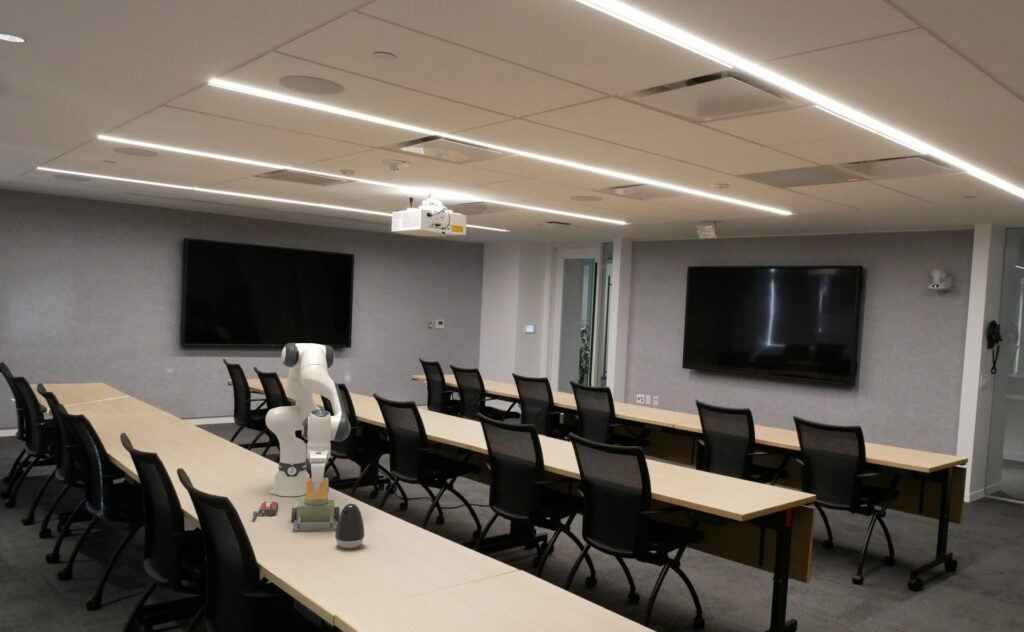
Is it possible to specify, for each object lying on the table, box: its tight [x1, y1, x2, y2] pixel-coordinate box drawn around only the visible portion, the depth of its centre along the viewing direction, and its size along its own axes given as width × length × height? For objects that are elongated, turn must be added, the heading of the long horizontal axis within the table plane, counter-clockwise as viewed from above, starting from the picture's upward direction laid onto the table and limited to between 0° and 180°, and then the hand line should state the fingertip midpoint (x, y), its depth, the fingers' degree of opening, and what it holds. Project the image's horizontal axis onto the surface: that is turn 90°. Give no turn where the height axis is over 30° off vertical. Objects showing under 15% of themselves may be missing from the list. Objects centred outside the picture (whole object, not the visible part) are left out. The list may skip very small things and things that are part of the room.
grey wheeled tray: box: [290, 497, 340, 533], centre depth 279 cm, size 19×18×9 cm
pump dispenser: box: [334, 503, 366, 550], centre depth 255 cm, size 10×10×15 cm
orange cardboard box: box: [305, 477, 330, 499], centre depth 276 cm, size 4×8×7 cm, turn 104°
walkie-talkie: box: [251, 500, 279, 521], centre depth 289 cm, size 9×4×20 cm
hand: (316, 489), depth 276 cm, fingers closed on orange cardboard box, 4 cm apart
